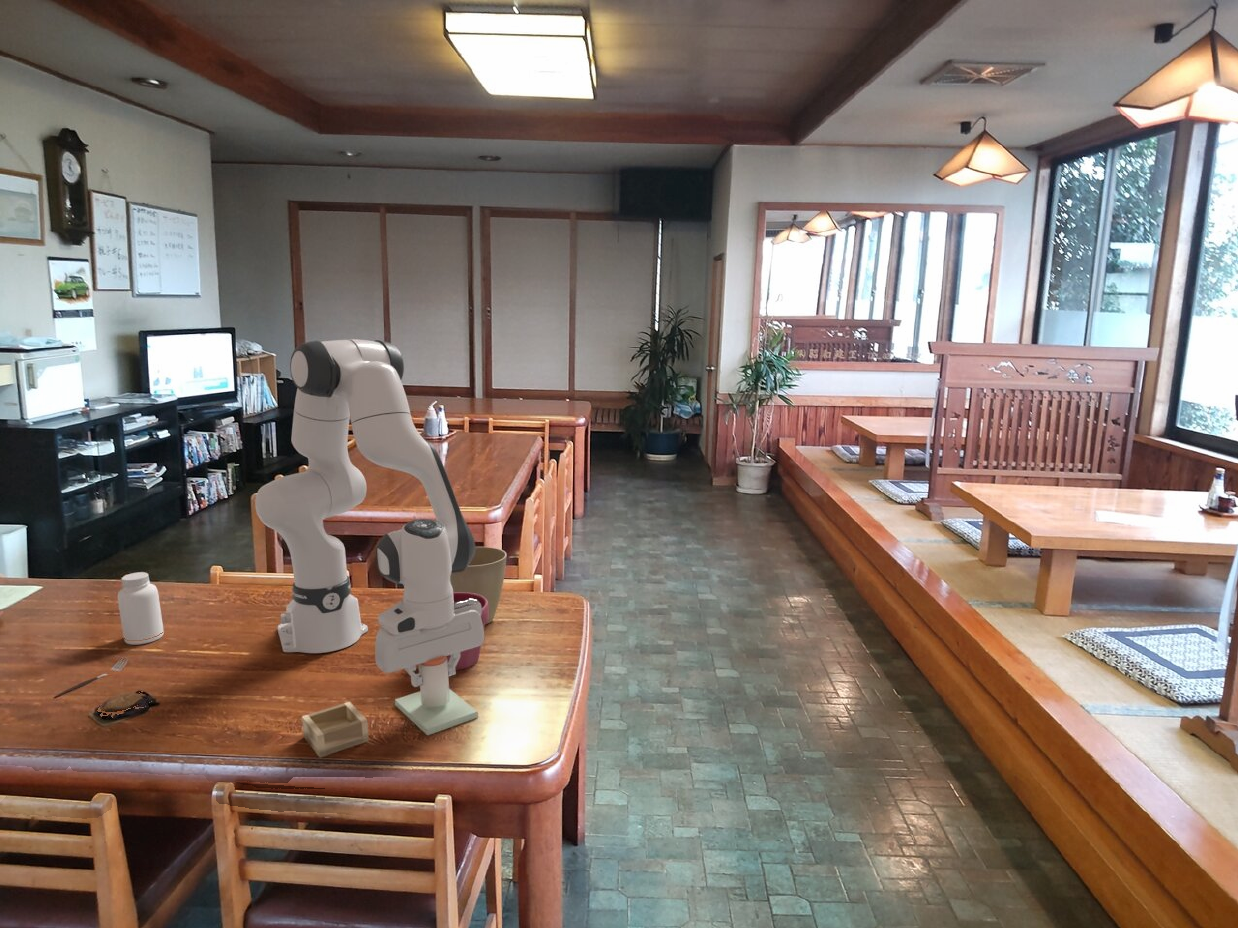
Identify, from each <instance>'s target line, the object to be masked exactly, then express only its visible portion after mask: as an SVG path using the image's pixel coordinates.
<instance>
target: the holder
mask: <svg viewBox="0 0 1238 928" xmlns="http://www.w3.org/2000/svg"><path fill="white" fill-rule="evenodd" d="M301 723H302V733H303V738H304V739H305V741H306V742H307V743H308V745H309V746H310V748H312V751H314V752H315V754H316V755H317V756H318V758H320V759H321V758H325V757H326V756H329V755H333V754H335V753H338V752H341V751H344V750H347V749H349V748H353V747H355V746H359V745H362V744H364V743H367V742H369V741H370V737H369V726H368V725H369V724H368V720H367V718H366V717H365V716H364V715H363V714H362V713H361V712H360V711H359V710H358V709H357V708H356V707H355V706H354V705H353V704H352V702H351V701H346V702H344V703H340V704H336V705H334V706H331V707H328V708H324V709H322V710H317V711H315V712H311V713H308V714H304V715H303V716H301Z"/></svg>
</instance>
